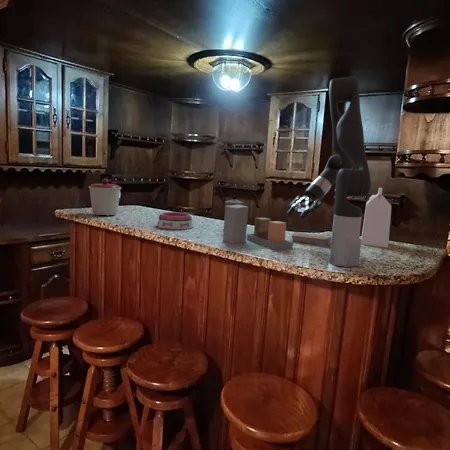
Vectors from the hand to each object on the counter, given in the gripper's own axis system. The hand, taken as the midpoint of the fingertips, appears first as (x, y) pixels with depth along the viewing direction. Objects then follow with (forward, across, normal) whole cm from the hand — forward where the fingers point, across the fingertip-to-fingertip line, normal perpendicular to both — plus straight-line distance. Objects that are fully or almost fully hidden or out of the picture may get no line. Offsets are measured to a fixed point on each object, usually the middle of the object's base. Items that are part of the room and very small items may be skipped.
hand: (294, 216), depth 155 cm
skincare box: (+24, -13, -5) cm, 27 cm away
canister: (+50, -100, -32) cm, 116 cm away
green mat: (+22, -2, -4) cm, 22 cm away
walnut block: (+15, -10, +3) cm, 18 cm away
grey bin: (+15, -5, +3) cm, 16 cm away
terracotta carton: (+15, 0, +3) cm, 15 cm away
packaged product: (+2, -2, +17) cm, 17 cm away
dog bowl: (+32, -55, -13) cm, 65 cm away
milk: (-22, +5, +41) cm, 47 cm away
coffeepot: (+15, -36, +3) cm, 39 cm away
